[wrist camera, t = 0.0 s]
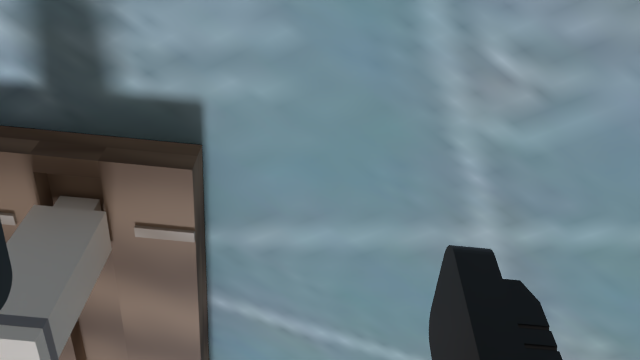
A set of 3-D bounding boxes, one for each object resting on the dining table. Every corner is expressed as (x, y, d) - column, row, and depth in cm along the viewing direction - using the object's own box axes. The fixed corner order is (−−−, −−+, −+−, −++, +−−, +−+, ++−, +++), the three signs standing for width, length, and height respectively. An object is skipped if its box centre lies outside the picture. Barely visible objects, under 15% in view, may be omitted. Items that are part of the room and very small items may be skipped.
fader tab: (43, 189, 30) (-59, 332, 23) (114, 196, 30) (35, 341, 23) (52, 228, 32) (-41, 374, 24) (119, 234, 32) (47, 383, 24)
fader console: (-41, 121, 30) (-69, 147, 28) (202, 145, 30) (191, 172, 28) (47, 418, 44) (33, 449, 42) (211, 433, 44) (204, 464, 42)
